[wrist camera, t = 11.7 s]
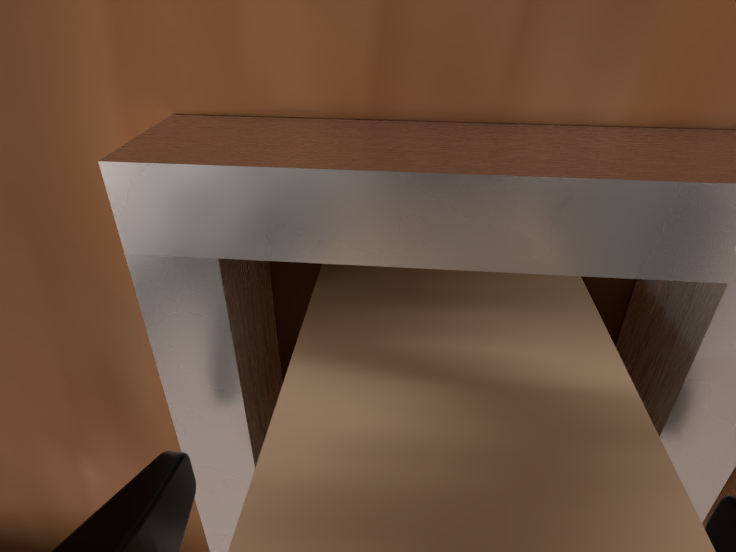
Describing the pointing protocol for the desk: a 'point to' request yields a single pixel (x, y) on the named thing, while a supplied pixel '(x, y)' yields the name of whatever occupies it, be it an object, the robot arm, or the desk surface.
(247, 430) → the rectangular frame
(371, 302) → the peg
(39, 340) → the desk surface
